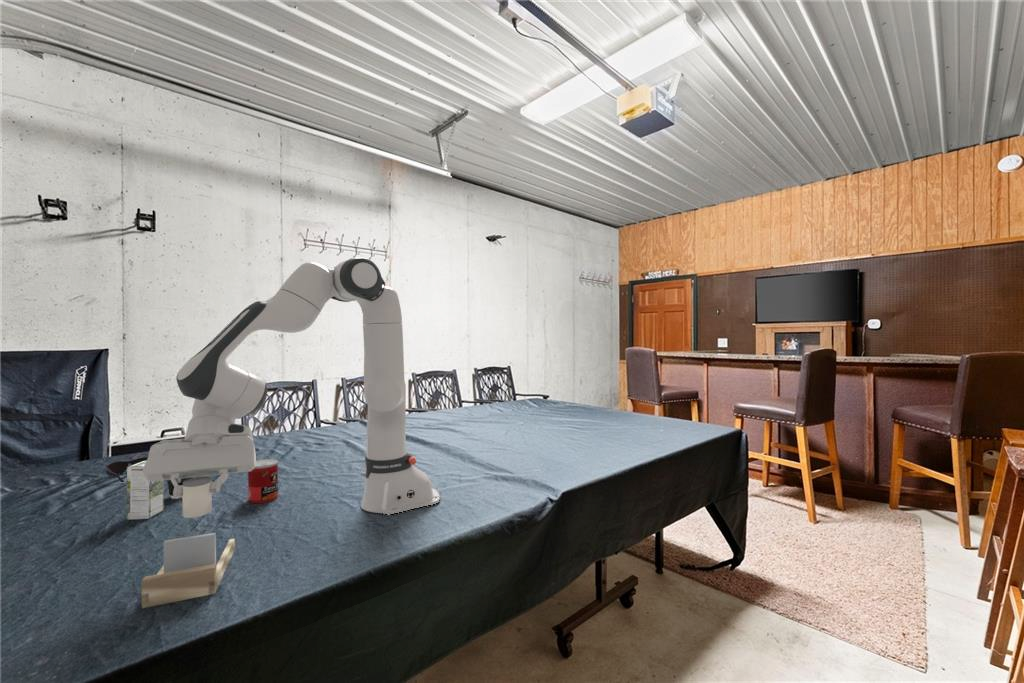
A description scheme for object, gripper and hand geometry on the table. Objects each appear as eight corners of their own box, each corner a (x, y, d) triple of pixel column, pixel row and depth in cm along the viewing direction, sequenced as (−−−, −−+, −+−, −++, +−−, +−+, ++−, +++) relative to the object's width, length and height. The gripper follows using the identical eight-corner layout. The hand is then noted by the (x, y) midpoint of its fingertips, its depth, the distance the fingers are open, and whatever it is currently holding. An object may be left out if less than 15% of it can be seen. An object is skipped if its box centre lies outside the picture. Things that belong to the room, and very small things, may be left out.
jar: (214, 506, 93) (214, 475, 93) (208, 515, 89) (208, 482, 89) (186, 510, 91) (186, 478, 91) (179, 519, 87) (179, 485, 87)
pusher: (165, 580, 84) (165, 540, 84) (216, 571, 87) (215, 532, 87) (163, 583, 83) (163, 542, 83) (215, 573, 86) (214, 534, 86)
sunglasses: (152, 468, 161) (152, 454, 161) (166, 476, 151) (165, 462, 151) (103, 477, 150) (103, 463, 150) (114, 486, 140) (114, 471, 140)
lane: (176, 559, 93) (176, 536, 93) (234, 549, 98) (234, 527, 98) (141, 608, 76) (141, 580, 76) (214, 593, 81) (214, 567, 81)
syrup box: (142, 511, 119) (142, 460, 119) (165, 510, 120) (164, 459, 120) (126, 520, 114) (125, 466, 114) (149, 519, 114) (149, 465, 114)
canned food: (265, 504, 124) (264, 467, 124) (241, 502, 126) (241, 465, 126) (284, 495, 132) (283, 459, 132) (261, 493, 133) (261, 458, 133)
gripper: (148, 433, 92) (129, 493, 83) (257, 425, 100) (250, 479, 91) (156, 448, 96) (138, 507, 87) (260, 440, 104) (253, 493, 95)
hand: (196, 493), depth 89 cm, fingers closed on jar, 5 cm apart
